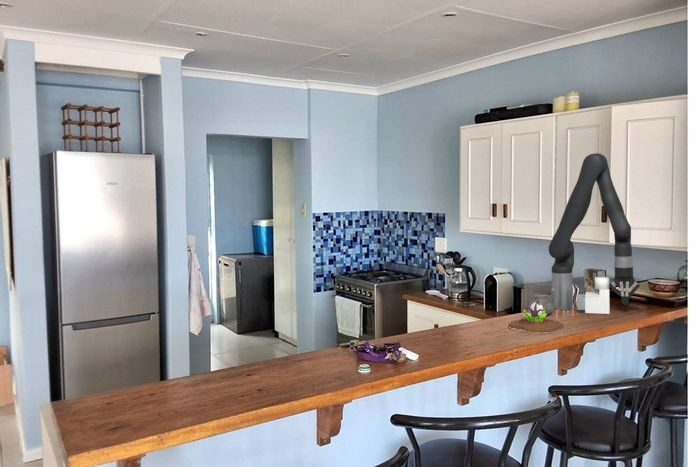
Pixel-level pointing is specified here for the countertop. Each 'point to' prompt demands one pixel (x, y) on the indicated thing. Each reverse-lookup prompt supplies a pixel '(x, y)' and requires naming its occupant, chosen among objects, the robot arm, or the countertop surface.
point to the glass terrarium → (544, 305)
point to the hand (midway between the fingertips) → (625, 304)
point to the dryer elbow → (598, 297)
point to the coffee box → (592, 279)
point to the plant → (536, 322)
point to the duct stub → (581, 303)
